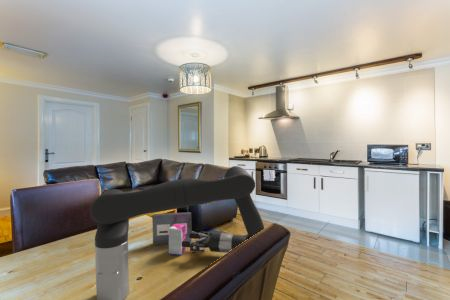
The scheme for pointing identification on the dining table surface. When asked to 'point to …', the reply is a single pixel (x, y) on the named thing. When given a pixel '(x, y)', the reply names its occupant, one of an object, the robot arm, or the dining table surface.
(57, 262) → the dining table surface
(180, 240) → the supplement box
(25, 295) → the dining table surface
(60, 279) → the dining table surface
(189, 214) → the label panel
